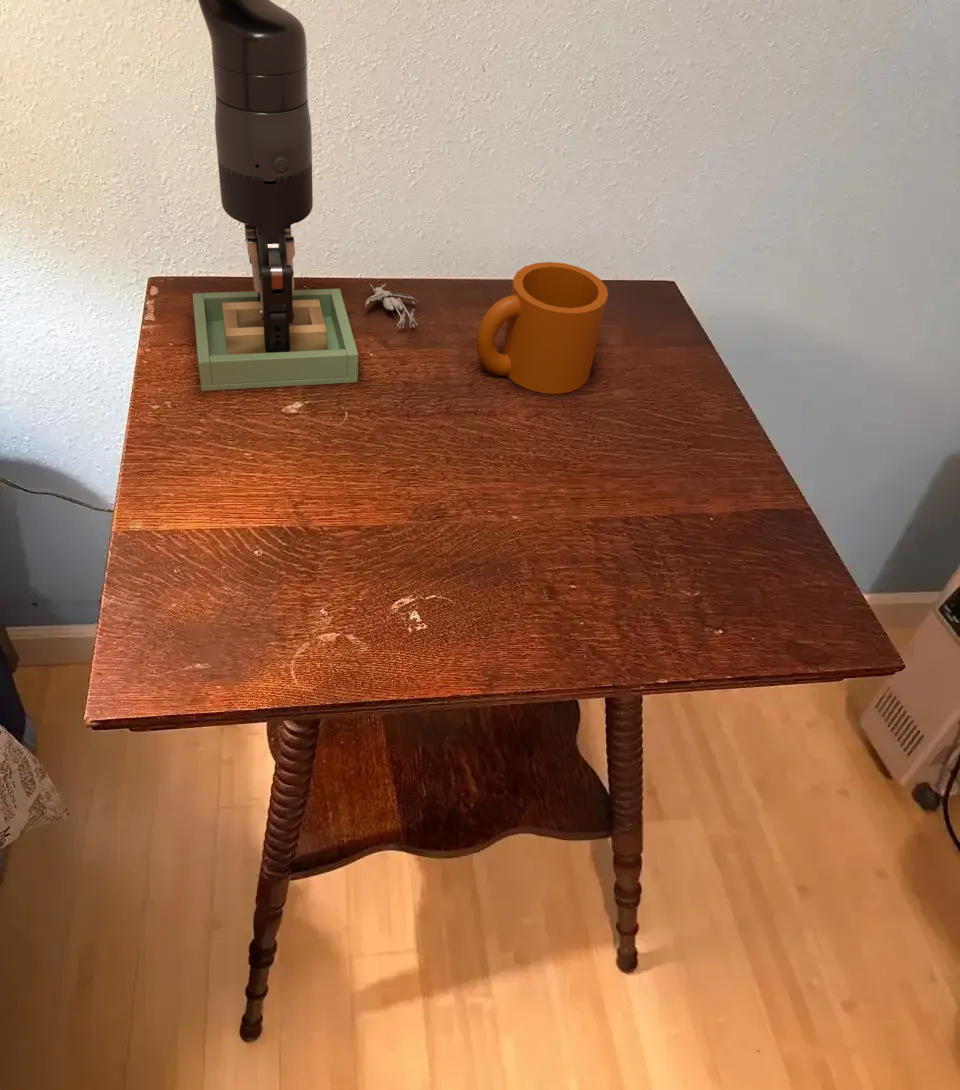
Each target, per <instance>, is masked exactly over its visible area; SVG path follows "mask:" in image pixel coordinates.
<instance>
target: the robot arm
mask: <svg viewBox="0 0 960 1090" xmlns="http://www.w3.org/2000/svg"><path fill="white" fill-rule="evenodd" d="M197 1H198V5H199V8H200V11H201V14H202V17H203V20H204V22H205V24H206V29H207V31H208V34H209V38H210V44H211V56H212V68H213V79H214V92H215V109H214V110H215V111H214V112H215V113H214V131H215V145H216V154H217V155H216V156H217V164H218V166H217V167H218V175H219V176H218V178H219V189H220V202H221V206H222V208H223V210H224V212H225V213H226V214H227V215H228V216H229V217H230V218H231V219H233V220H235V221H237V222H239V223H241V224H243V225H244V226H243V228H244V237H245V243H246V248H247V255H248V259H249V263H250V264H251V271H252V282H253V288H254V291H256V292H258V302H261V310H260V315H261V316H262V320H263V327H264V343H265V351H266V352H267V353H275V352H289V350H290V337H289V324H290V323H293V319H294V314H293V307H292V291H293V290H295V277H294V276H295V275H294V273H295V272H294V262H293V261H294V258H295V256H296V248H295V237H294V236H293V235H292V225H294V224H298V223H300V222H302V221H303V220H305V219H306V218H307V217H308V216H310V214H311V213H312V210H313V205H314V202H313V201H314V198H313V197H314V196H313V193H314V192H313V143H312V141H313V139H312V138H313V137H312V136H313V135H312V123H311V122H312V121H311V115H310V109H309V94H308V92H309V91H308V45H307V35H306V31H305V28H304V26H303V24H302V22H301V21H300V20H299V19H298V18H297V17H296V16H295V15H294V14H292V13H290V12H289V11H288V10H286V9H284V8H282V7H281V6H280V5H278V4H276V3H274V2H272V0H197ZM283 304H284V305H283Z"/></svg>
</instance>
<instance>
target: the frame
mask: <svg viewBox="0 0 960 1090" xmlns="http://www.w3.org/2000/svg"><path fill="white" fill-rule="evenodd" d="M283 305H284V304H283ZM292 307H293V314H294V319H293V323H290V324H289V337H290V350H289V352H296V351H317V350H327V330H326V326H325V322H324V318H323V314H322V310H321V306H320V302H319V299H318V300H292ZM222 310H223V321H224V330H225V338H226V347H227V355H233V354H254V353H267V352H266V351H265V343H264V327H263V320H262V316H261V315H260V310H261V302H231V303H222Z"/></svg>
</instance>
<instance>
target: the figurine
mask: <svg viewBox="0 0 960 1090" xmlns="http://www.w3.org/2000/svg"><path fill="white" fill-rule="evenodd" d="M369 286H370V287H371V290H373V292H374V295H371V296H369V297H368V298H367V299H366V301H365V308H367V306H368V305H369V304H370V301H371V302H374V301H376V300H377V301H379V302H380V303H382V305H383V308H384V309H385V310H386V311H392V312H393V311H394V310H396V312H397V314H398V316H399V321H397V324H396V327H397V328H398V327H399V329H401V327H402V329H404V327H405V324H406V315H407V317H408V319H409V320H408V321H409V323H408V324H409V327H410V328H413V329H415V328H416V327H415V325H416V326H418V323H417V321H416V319H415V318H414V312H415V310H416V309H415V308H413V309H412V310H411V311H410V312H409V311H408V310H407V308H406V306H405V304H404V303H403V301H402V299H406V300H408V301H409V302H411V303H412V304H416V303H417V300H416V298H414V297H413V296H412V295H409V294H408V295H407V294H405V293H401V292H400V293H399V292H395V291H390V290H384V289H383V288H385V287H386V283H384V284H383V285H381V286H376V287H374V286H373V285H372V284H371V283H369ZM402 310H403V312H402V314H401V313H400V312H401V311H402Z"/></svg>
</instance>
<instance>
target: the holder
mask: <svg viewBox="0 0 960 1090" xmlns="http://www.w3.org/2000/svg"><path fill="white" fill-rule="evenodd" d="M318 299H319V302H320V306H321V310H322V314H323V318H324V322H325V326H326V330H327V350H317V351H296V352H275V353H254V354H233V355H227V347H226V338H225V330H224V321H223V310H222V303H231V302H258V292H256V290H253V291H252V290H251V291H225V292H223V291H222V292H220V291H219V292H193V293H192V303H193V314H194V315H193V316H194V328H195V329H194V330H195V340H196V341H195V343H196V354H197V364H198V373H199V381H200V390H201V391H202V392H208V391H209V392H211V391H212V392H213V391H228V390H229V391H231V390H244V389H245V390H246V389H263V388H281V387H282V388H283V387H300V386H301V387H302V386H317V385H333V384H334V385H336V384H353V383H358V382H359V352H358V348H357V345H356V341H355V338H354V334H353V330H352V327H351V323H350V319H349V316H348V313H347V309H346V305H345V302H344V299H343V295H342V291H341V288H322V289H320V288H319V289H318V288H316V289H294V290H293V291H292V300H318Z"/></svg>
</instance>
